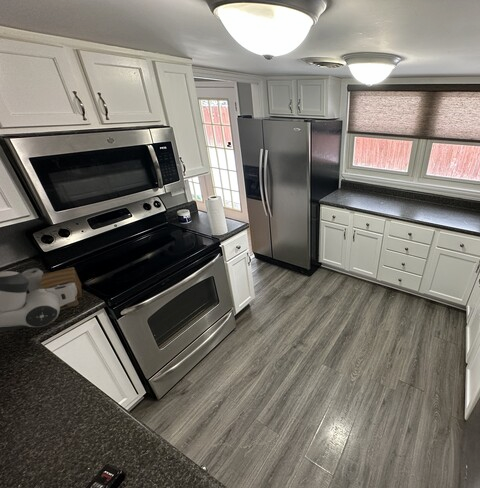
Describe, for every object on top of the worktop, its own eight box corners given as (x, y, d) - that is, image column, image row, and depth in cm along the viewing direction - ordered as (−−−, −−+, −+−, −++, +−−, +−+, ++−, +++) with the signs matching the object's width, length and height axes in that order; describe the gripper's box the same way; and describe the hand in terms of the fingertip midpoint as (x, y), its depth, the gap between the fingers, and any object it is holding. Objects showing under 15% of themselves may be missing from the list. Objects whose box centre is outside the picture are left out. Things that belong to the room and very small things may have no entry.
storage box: (81, 297, 133) (73, 279, 128) (49, 306, 126) (39, 287, 121) (81, 284, 143) (73, 267, 138) (51, 292, 136) (42, 274, 131)
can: (49, 292, 135) (38, 272, 130) (28, 296, 132) (17, 276, 126) (52, 284, 141) (42, 265, 136) (32, 289, 137) (21, 269, 132)
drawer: (80, 312, 121) (72, 297, 117) (48, 322, 115) (39, 306, 111) (79, 292, 134) (72, 278, 130) (50, 300, 128) (43, 285, 124)
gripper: (0, 321, 89) (4, 308, 98) (80, 298, 103) (77, 289, 112) (-7, 305, 87) (-3, 293, 96) (75, 284, 101) (72, 275, 111)
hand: (40, 291), depth 105 cm, fingers open, 8 cm apart
